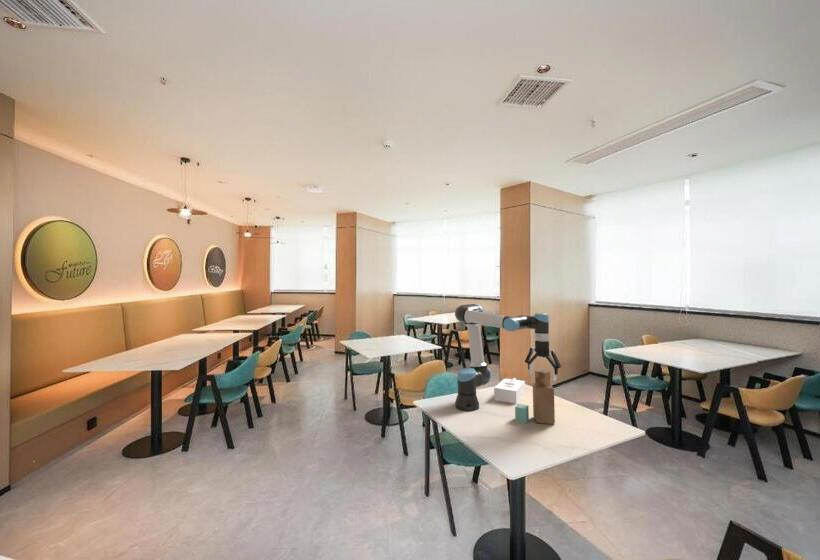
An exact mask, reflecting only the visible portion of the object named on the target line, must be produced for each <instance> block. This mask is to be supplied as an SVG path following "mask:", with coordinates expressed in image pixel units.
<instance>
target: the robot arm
mask: <svg viewBox="0 0 820 560" xmlns="http://www.w3.org/2000/svg"><path fill="white" fill-rule="evenodd" d="M454 316H455V318H456V320H457V321H458V322H460V323H464V326H465V327H467V337H468V338H467V339H468V344H469V354H470V355H469V356H470V364H469V367H463V368H460V369H459V370H458V371H457V376H456V379H457V395H456V399H455V401H454V402H455V403H454V404H455V406H454V407H455V408H456V409H457V410H459V411H460V410H461V411H464V412H465V411H466V412H467V411H468V412H471V411H477V410H478V409H479V408H480V402H479V399H478V396H477V388H479V387H482V386H485V385H487V384H489V382H491V380H492V378H493V377H492V375H493V374H492V371H491V369H490V368H489V367H488V364H487V363H486V362H485V355H484V349H483V340H482V338H483V337H482V331H481V325H483V326H489V327H493V328H499V329H504V330H506V331H508V332H516V331H519V330H525V329H529V330H534V347H533V346H531V347H529V351H528V354H527V355H526V357H525V360H524V362H525V363H526V364H527V368H528V371H529V377H531V376H534V364H533V362H534V361H535V360H536V359H537V358H538V357H539V358H545V359H547V361H548V362H549V364H551V366H552V367H553V368H552V381H554V382H555V381H557V375H558V374H559V369H560V368H562V364H561V363H560V360H559V359H558V356H557V355H556V350H555V349H553V350H550V341H549V340H550V318H549V314H548V313H545V312H535V313H534V315H523V314H521V315H520V314H519V315H515V316H509V315H508V316H507V315H503V314H496V313H492V312H485V311H484V308H483V307H482V306H481V305H480V304H478V303H469V304H461V305H458V306H457V308H456V309H455V311H454ZM534 352H535V353H534ZM533 353H534V355H533ZM532 355H533V356H532Z"/></svg>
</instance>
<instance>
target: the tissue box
mask: <svg viewBox="0 0 820 560" xmlns="http://www.w3.org/2000/svg"><path fill="white" fill-rule="evenodd" d="M493 393H494V397H493V398H494V401H497V402H502V403H503V402H504V403H508V402H509V404H514V403H515V405H517V404H518V403H519V402H520V401H521V399H522V398H523V396H524V395H525V394H524V393H526V381H525V380H519V379H517V378H516V377H512V378H503V379H502V380H501V381H500V382H499V383H498V384H496V385H495V387H494V388H493ZM521 397H522V398H521ZM517 402H518V403H517Z"/></svg>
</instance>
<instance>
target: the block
mask: <svg viewBox="0 0 820 560" xmlns="http://www.w3.org/2000/svg"><path fill="white" fill-rule="evenodd" d="M532 410H533V412H532V416H533V419H534V420H535V422H536V423H537V424H545V425H547V424H548V425H555V423H556V413H555V412H556V411H555V389H554V386H553V385H552V384H551V383H550V386H548V387H541V386H537V385H535V382H533V383H532Z"/></svg>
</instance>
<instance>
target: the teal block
mask: <svg viewBox="0 0 820 560" xmlns="http://www.w3.org/2000/svg"><path fill="white" fill-rule="evenodd" d="M514 411H515V412H514V413H515V414H514V415H515V416H514V417H515V418H514V419H515V422H517V423H518V422H519V423H523V424H527V423H528V421H529V419H530V415H529V413H530V412H529V411H530V410H529V405H527V404H522V403H517V404H515V406H514Z"/></svg>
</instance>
